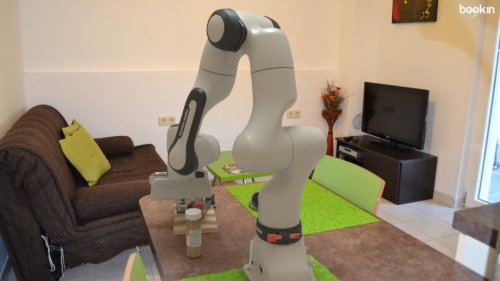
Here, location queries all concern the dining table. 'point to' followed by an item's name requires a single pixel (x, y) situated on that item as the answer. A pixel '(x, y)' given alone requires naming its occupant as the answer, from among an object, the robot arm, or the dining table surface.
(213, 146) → the robot arm
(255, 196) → the ceramic mug
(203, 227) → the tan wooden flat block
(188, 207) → the brown ball
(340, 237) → the dining table surface
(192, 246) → the sprinkles bottle
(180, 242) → the dining table surface
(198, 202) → the lever
